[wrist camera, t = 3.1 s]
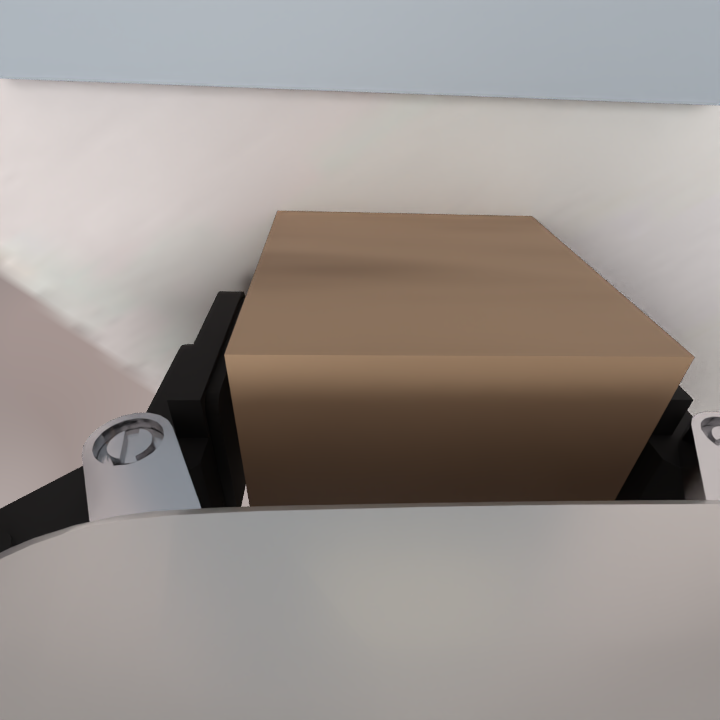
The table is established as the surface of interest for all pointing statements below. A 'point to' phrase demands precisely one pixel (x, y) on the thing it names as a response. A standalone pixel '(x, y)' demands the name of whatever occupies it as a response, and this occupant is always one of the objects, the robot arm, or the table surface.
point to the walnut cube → (439, 365)
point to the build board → (377, 46)
